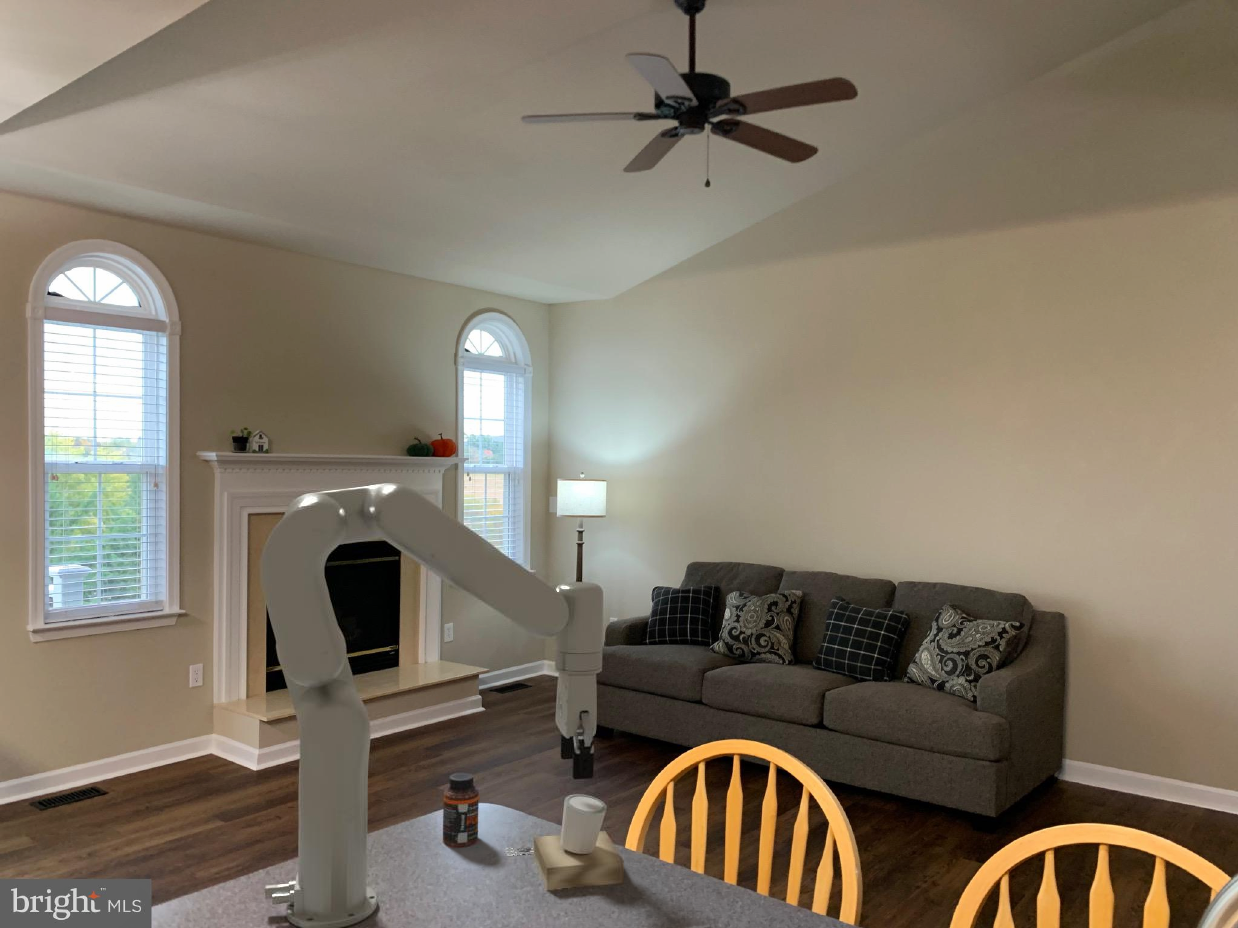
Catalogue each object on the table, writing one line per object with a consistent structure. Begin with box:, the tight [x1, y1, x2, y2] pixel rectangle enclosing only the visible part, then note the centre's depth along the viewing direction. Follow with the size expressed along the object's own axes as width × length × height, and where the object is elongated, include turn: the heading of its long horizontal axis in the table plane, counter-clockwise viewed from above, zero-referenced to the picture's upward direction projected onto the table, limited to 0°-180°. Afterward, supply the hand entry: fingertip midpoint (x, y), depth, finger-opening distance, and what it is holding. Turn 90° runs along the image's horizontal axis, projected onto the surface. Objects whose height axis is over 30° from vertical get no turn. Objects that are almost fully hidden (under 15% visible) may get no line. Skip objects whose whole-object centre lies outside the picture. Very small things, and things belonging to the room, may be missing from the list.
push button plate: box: [505, 845, 534, 857], centre depth 157 cm, size 6×4×1 cm, turn 104°
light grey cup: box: [560, 793, 607, 854], centre depth 150 cm, size 7×7×7 cm
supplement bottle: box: [442, 772, 480, 848], centre depth 161 cm, size 6×6×11 cm
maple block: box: [533, 830, 624, 891], centre depth 151 cm, size 12×12×4 cm
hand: (576, 767), depth 150 cm, fingers open, 9 cm apart
